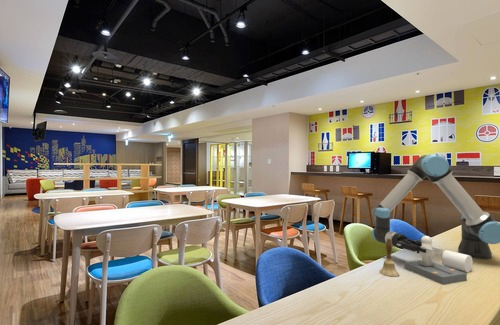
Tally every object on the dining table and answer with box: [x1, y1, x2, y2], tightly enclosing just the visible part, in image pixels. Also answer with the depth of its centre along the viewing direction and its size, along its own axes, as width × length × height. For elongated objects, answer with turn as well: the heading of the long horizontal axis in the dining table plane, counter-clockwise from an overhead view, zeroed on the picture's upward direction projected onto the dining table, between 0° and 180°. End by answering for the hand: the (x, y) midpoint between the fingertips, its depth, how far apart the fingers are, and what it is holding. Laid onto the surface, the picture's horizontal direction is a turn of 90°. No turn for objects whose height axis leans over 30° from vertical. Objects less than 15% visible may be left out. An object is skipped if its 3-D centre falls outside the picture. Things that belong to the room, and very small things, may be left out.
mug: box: [441, 249, 474, 273], centre depth 139 cm, size 12×10×8 cm
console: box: [403, 259, 468, 285], centre depth 132 cm, size 14×20×3 cm
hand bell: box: [379, 239, 400, 278], centre depth 133 cm, size 8×8×16 cm
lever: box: [419, 235, 436, 266], centre depth 135 cm, size 5×5×14 cm
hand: (437, 252), depth 130 cm, fingers closed on lever, 4 cm apart
